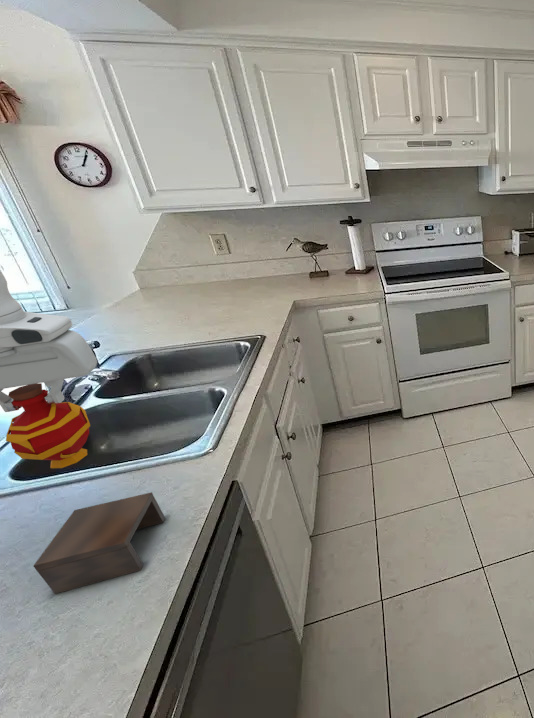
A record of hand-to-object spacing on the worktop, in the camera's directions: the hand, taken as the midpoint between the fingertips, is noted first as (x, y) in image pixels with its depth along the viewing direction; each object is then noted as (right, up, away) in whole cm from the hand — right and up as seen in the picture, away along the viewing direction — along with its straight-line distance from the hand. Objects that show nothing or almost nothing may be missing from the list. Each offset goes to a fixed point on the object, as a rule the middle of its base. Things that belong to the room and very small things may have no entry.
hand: (36, 405), depth 71 cm
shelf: (+9, -28, +5) cm, 30 cm away
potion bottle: (0, -11, +5) cm, 12 cm away
